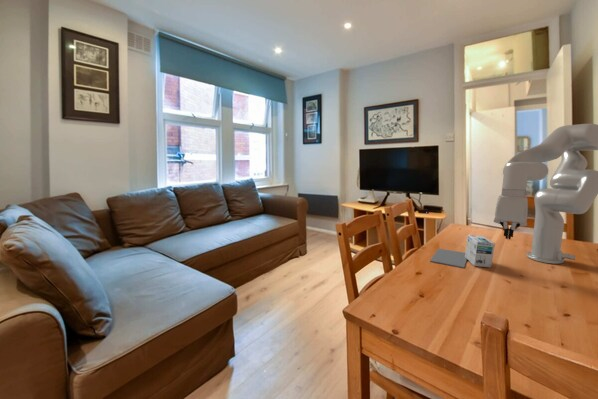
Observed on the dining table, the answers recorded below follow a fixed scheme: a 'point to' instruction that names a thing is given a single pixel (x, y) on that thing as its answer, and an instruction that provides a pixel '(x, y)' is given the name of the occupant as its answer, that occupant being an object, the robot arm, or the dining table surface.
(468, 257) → the light bulb box
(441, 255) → the mat
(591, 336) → the dining table surface
